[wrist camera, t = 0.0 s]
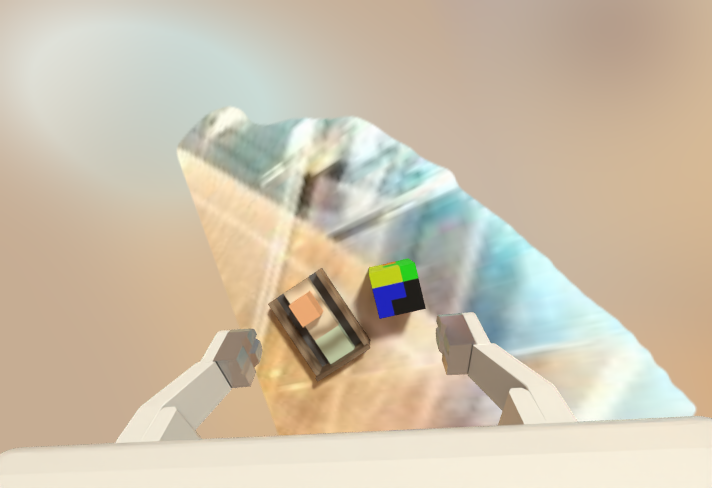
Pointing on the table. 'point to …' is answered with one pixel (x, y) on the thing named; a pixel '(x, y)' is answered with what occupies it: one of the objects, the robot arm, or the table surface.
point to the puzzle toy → (396, 288)
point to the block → (306, 309)
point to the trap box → (322, 326)
